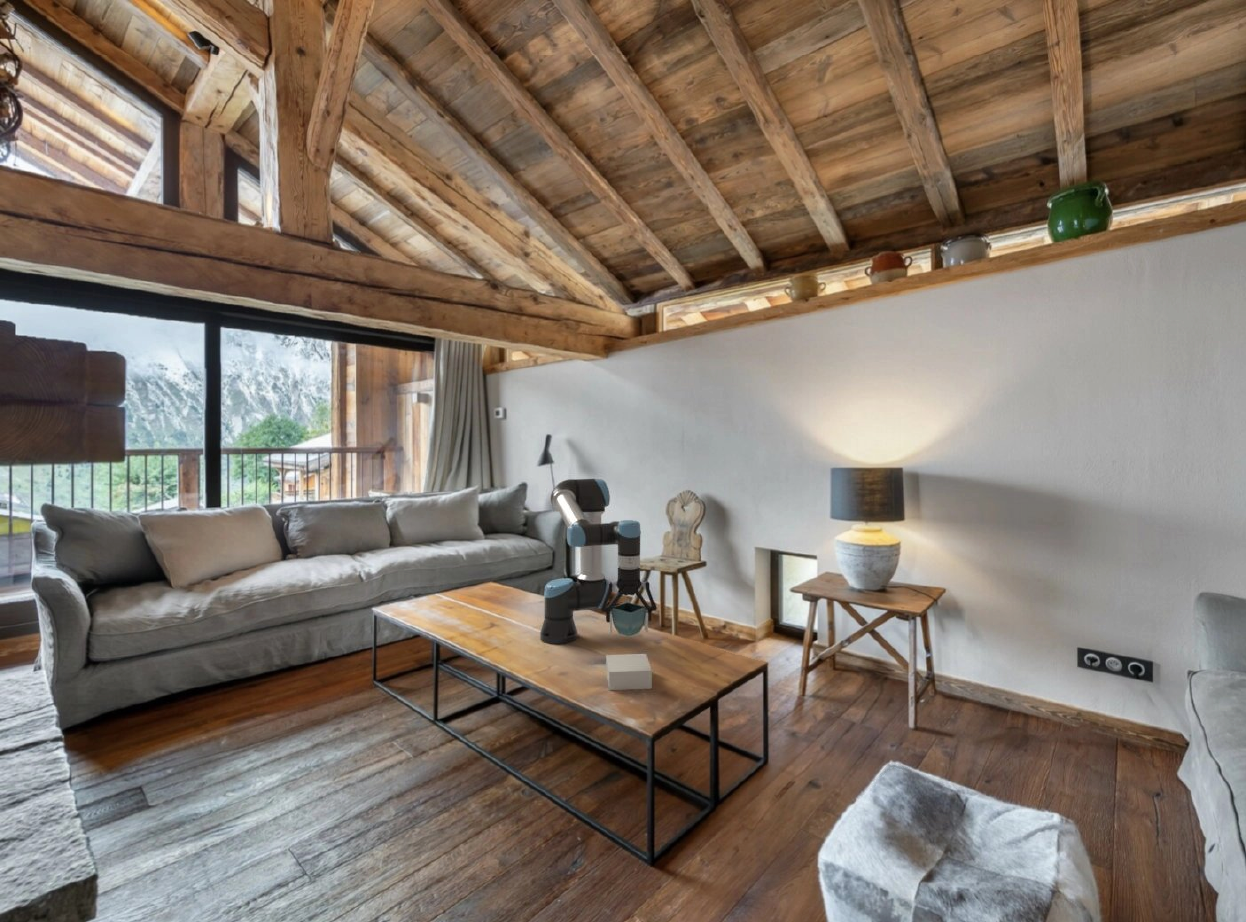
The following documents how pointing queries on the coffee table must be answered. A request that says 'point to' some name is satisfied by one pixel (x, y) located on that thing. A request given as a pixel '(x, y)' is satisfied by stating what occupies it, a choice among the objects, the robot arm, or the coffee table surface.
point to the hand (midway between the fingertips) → (628, 631)
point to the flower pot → (628, 618)
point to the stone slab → (628, 672)
